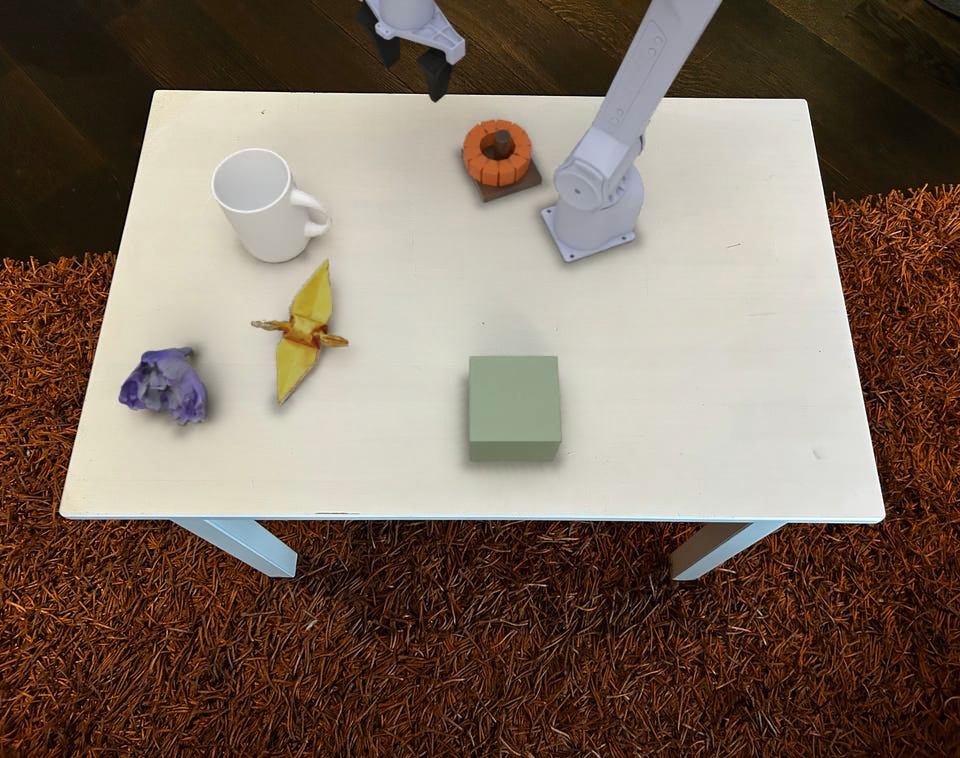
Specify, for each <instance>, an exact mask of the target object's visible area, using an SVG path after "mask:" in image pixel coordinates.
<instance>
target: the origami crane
mask: <svg viewBox="0 0 960 758" xmlns="http://www.w3.org/2000/svg"><path fill="white" fill-rule="evenodd" d="M330 269H331V268H330V258H329V257H328V258H327V259H325V260H324V261H322V263H321V264H320V265H319V266H318V267H317V268H316V269H315V270H314V271H313V272H312V273H311V275H310V276H309V277H308V278H307V279H305V282H304V284H302V285H301V287H300V288H299V289H298V290H297V292H296V294H294V296H293V299H292V300H291V302H290V305H289V306H288V315H289V320H285V319H284V320H280V321H279V320H276V319H273V320H268V321H267V320H266V319H262V321H264V322H262V321H261V320H255V321H254V320H252V321H251V322H250V325H251V326H252V327H254V328H257V329H258V328H259V329H260V328H261V329H263V330H264V331H267V332H274V331H277V332H281V333H282V338H281V339H280V341H279V342H278V343H277V345H276V347H275V357H276V358H275V361H276V390H277V405H278V408H281V407H282V405H283V404H284V403H285V401H286V400H287V399H288V397H289V396H290V395H291V394H292V393H293V392H294V391H295V389H296V388H297V387H298V386H299V384H300V383H301V382H302V381H303V379H304V378H305V377H306V375H307V374H308V373H309V371H312V369H314V367H315V366H316V365H317V364H318V363H319V361H320V357H321V352H322V351H323V346H324V347H326V348H327V347H328V348H334V349H335V348H343V347H344V348H345V347H349V340H348V339H347V338H345V337H343V336H341V335H336V334H328V332H329V326H330V321H331V319H332V315H333V309H334V308H333V300H332V287H331V285H332V283H331V271H330Z"/></svg>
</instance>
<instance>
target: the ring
mask: <svg viewBox="0 0 960 758" xmlns="http://www.w3.org/2000/svg"><path fill="white" fill-rule="evenodd" d="M499 130H507V131H508V132H509V133H510V134H511V143H510V150H511V151H512V153H513V154H512V155H511V156H510V157H509V158H508V159H504V160H500V161H495V160H490V159H488V158H486V157H485V156H484V155H483V154H482V153H481V152H482V151H483V150H484V149H485V148H486V147H488V146H492V145H494V136H495V133H496V132H497V131H499ZM532 148H533V147H532V142H531V140H530V137H529V134H528V133H527V132H526V130H525V129H523V128H522V127H520V125H518V124H516V123H515V122H514V123H513V122H512V121H510V120H504V119H499V118H497V119H490V120H485V121H482V122H480V124H479V123H477V124H476V125H475V126H473V127H472V128H471V129H470V130H469V131H467V134H466V135H465V139H464V141H463V145H462V149H463V158H464V160H463V163H464V167H465V169H466V172H467V173H469V175H470V177H471V176H472V177H474V178H475V179H476V180H478V181H479V182H481V181H482V184H487V185H492V186H497V184H498V183H499V186H503V185H507V184H511V183H514V180H515V181H517V180H519V179H520V178H521V177H522V176H523V175H524V174H525V173H526V171H527V170H528V167H529V163H530V158H532ZM463 158H462V159H463ZM472 177H471V178H472Z"/></svg>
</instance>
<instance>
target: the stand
mask: <svg viewBox="0 0 960 758" xmlns="http://www.w3.org/2000/svg"><path fill="white" fill-rule="evenodd" d="M510 143H511V134H510V133H509V132H508V131H507V130H499V131H497V132H496V133H495V136H494V145H492V146H488V147H486V148H485V149H484V150H483V151H482V152H481V153H482V154H483V155H484V156H485V157H486V158H488V159H490V160H495V161H500V160H504V159H508V158H509V157H510V156H511V155H512V154H513V153H512V151H511V150H510ZM460 153H461V154H460V155H461V158H462V160H463V161H464V158H463V148H462V149H460ZM470 177H471V179H472V181H473V183H474V186H475V187H476V190H477V192H478V193H479V195H480V198H481V200H482V202H483V203H486V202H487V203H488V202H490V201H493V200H496V199H499V198H502V197H506V196H509V195H511V194H515V193H517V192H520V191H523V190H527V189H530V188H532V187H536V186H539V185H541V184H542V181H543V176H542V175H541V173H540V171H539V169H538V167H537V166H536V164H535V162H534V160H533V157H531V158H530V163H529V167H528V170H527V171H526V173H525V174H524V175H523V176H522V177H521V178H520V179H519V180H517V181H515V180H514V183H511V184H507V185H503V186H499V183H498V184H497V186H492V185H487V184H482V181H481V182H479V181H478V180H476V179H475V178H474V177H472V176H471V175H470Z"/></svg>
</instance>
